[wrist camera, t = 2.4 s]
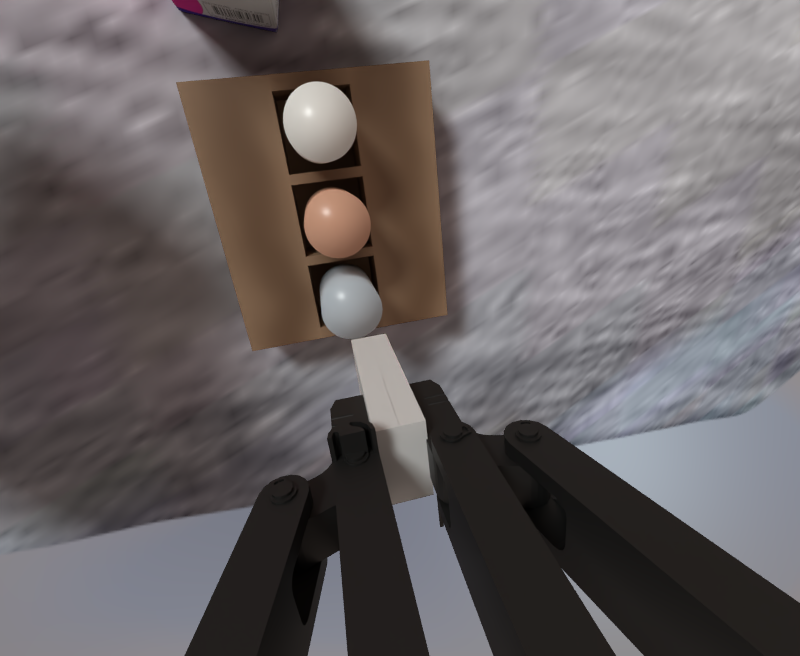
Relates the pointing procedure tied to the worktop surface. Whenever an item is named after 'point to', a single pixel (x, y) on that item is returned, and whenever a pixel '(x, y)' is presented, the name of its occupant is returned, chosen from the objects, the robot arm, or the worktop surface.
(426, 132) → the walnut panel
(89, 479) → the worktop surface
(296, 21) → the worktop surface
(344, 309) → the pale blue egg
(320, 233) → the brown egg
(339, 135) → the white egg
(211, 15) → the supplement box
